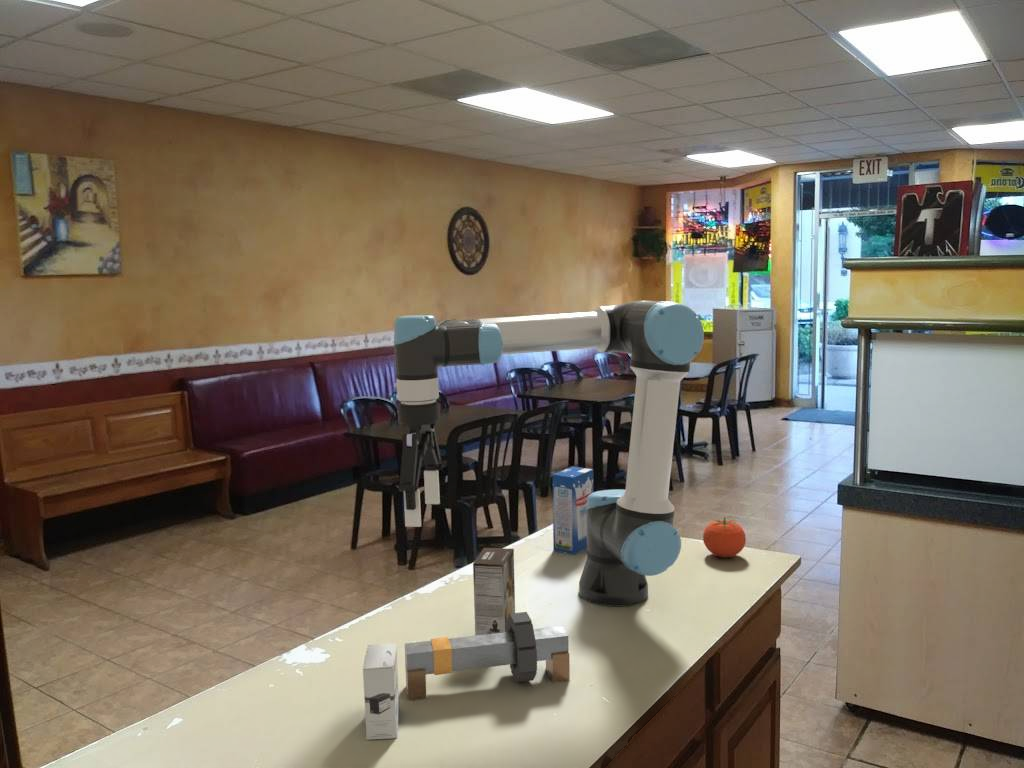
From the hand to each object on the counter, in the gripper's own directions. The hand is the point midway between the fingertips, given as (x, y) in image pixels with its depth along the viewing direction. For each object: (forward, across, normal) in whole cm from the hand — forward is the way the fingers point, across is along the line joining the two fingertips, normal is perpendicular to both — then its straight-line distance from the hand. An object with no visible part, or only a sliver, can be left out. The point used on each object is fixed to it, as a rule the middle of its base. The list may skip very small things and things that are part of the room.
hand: (423, 514), depth 148 cm
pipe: (+27, +11, +13) cm, 32 cm away
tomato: (+28, -58, +60) cm, 88 cm away
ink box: (+27, +25, -1) cm, 37 cm away
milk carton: (+27, -60, +23) cm, 70 cm away
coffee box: (+27, -9, +11) cm, 31 cm away
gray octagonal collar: (+27, +8, +19) cm, 34 cm away
